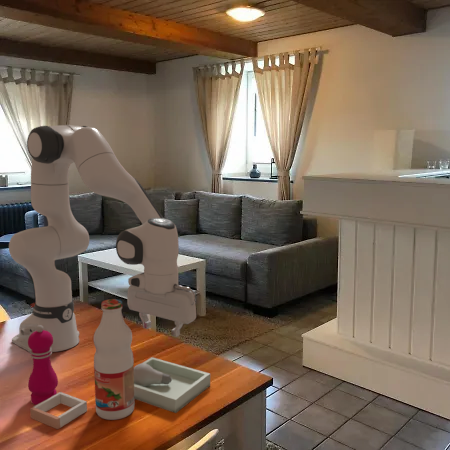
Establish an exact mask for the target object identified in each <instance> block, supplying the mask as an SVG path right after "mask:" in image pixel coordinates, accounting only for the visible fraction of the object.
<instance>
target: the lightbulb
mask: <svg viewBox="0 0 450 450" xmlns="http://www.w3.org/2000/svg"><path fill="white" fill-rule="evenodd" d="M171 381H172V378H171V377H170V375H168V374H164V373H162V372H159V371H156V370H155V369H153V368H152V367H151V366H149V365H148V364H145V363H143V362H141V363H139V364H136V365H134V384H136V385H139V386H142V387H145V386H148V385H152V384H169V383H170V382H171Z"/></svg>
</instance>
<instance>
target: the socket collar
mask: <svg viewBox="0 0 450 450" xmlns="http://www.w3.org/2000/svg"><path fill="white" fill-rule="evenodd" d="M61 404H62V405H64V406H67V407H70V408H69V409H68V410H66V411H65V412H63V413H61V414H60V415H58V416H57V415H53V414H51V413H49V412H48V411H50V410H51V409H53V408H55V407H57V406H58V405H61ZM29 411H30V412H29V413H30V418H31V419H32V420H35V421H36V422H40V423H41V424H44V425H46V426H49V427H52V428H54V429H55V430H59V429H61V428H62V427H63V426H66V425H67V424H69V423H70V422H72V421H73V420H75V419H76V418H78V417H80V416H81V415H83V414H85V413H86V412H87V411H88V403H87V400H84V399H81V398H78V397H75V396H73V395H70V394H67V393H65V392H62V391H60V392H58V393H57V394H56V395H54V396H52V397H50V398H48V399H47V400H45V401H43V402H41V403H39V404H37V405H33V406H32V407H30V409H29Z"/></svg>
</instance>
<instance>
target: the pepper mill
mask: <svg viewBox="0 0 450 450" xmlns="http://www.w3.org/2000/svg"><path fill="white" fill-rule="evenodd" d="M43 329H44V328H43V326H42V325H39V326H37V327H36V331H35V332H33V333H32V334H31V335H30V336H29V338H28V346H29V348H30V349H31V353H30V358H32V360H33V362H32V370H31V373H30V375H29V376H28V377H29V378H28V382H27V389H28V390H29V392H30V393H31V394H30V402H31V404H33V405H34V406H36V405H37V404H39V403H41V402H43V401H45V400H47V399H48V398H50V397H52V396H54V395H56V394H57V389H56V388H57V387H58V385H59V379H58V375H57V373H56V371H55V370H54V368H53V366H52V363H51V356H52V354H53V352H51V350H52V349H51V346H52V344H53V337H52V335H51V333H50V332H48V331H45V330H43Z"/></svg>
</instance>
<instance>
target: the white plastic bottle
mask: <svg viewBox="0 0 450 450" xmlns="http://www.w3.org/2000/svg"><path fill="white" fill-rule="evenodd" d="M100 306H101V307H100V308H101V311H102V315H101V319H100V323H99V325H98V327H97V328H96V329H95V331H94V334H93V344H94V347H95V353H94V356H93V371H94V372H93V374H94V375H93V376H94V393H95V394H94V396H95V398H94V400H95V412H96V414H97V416H98V417H99V418H101V419H104V420H108V421H110V420H111V421H113V420H114V421H115V420H121V419H125V418H126V417H128V416H130V415H131V414H132V413H133V411H134V409H135V404H136V403H135V401H136V399H134V367H135V365H134V360H135V359H134V353H133V350H132V347H131V345H132V343H133V342H132V341H133V333H132V332H133V331H132V330H131V328H130V326H128V325H127V324H126V322H125V320H124V317H123V313H122V309H123V301H122V300H121V299H117V298H110V299H106V300H102V301H101V305H100Z"/></svg>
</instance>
